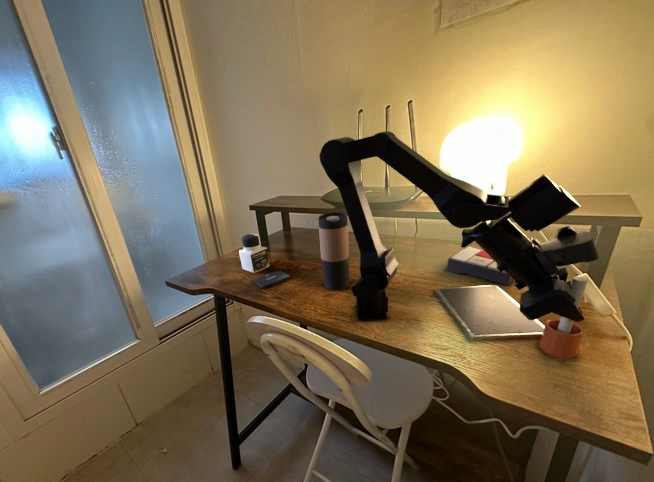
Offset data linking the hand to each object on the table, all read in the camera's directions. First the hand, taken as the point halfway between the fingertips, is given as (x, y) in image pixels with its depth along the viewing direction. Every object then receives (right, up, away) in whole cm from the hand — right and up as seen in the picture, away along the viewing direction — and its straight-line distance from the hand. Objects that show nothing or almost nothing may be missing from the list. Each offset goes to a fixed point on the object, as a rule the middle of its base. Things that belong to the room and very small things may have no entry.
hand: (580, 317), depth 49 cm
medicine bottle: (-57, +10, +57) cm, 82 cm away
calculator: (+7, +8, +33) cm, 35 cm away
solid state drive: (-52, +6, +46) cm, 70 cm away
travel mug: (-33, +5, +38) cm, 50 cm away
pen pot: (0, -6, +4) cm, 7 cm away
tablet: (-4, -1, +17) cm, 17 cm away
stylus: (0, -5, +3) cm, 6 cm away
